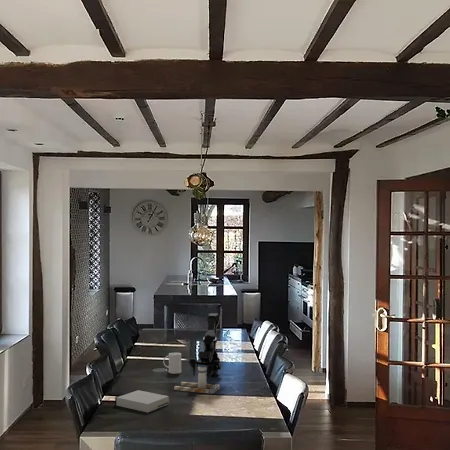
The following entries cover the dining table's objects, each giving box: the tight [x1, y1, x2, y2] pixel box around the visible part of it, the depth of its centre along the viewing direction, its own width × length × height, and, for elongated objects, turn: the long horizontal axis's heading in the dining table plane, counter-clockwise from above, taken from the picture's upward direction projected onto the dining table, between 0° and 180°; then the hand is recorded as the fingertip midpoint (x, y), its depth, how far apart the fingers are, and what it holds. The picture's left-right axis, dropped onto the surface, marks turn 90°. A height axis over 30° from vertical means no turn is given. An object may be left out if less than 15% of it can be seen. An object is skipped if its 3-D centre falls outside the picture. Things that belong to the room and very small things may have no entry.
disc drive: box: [114, 389, 170, 413], centre depth 315 cm, size 18×22×5 cm
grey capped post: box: [197, 365, 207, 389], centre depth 343 cm, size 5×5×13 cm
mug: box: [162, 352, 182, 375], centre depth 385 cm, size 12×8×12 cm
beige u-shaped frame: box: [173, 381, 221, 394], centre depth 344 cm, size 24×11×2 cm, turn 72°
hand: (201, 376), depth 342 cm, fingers open, 9 cm apart
